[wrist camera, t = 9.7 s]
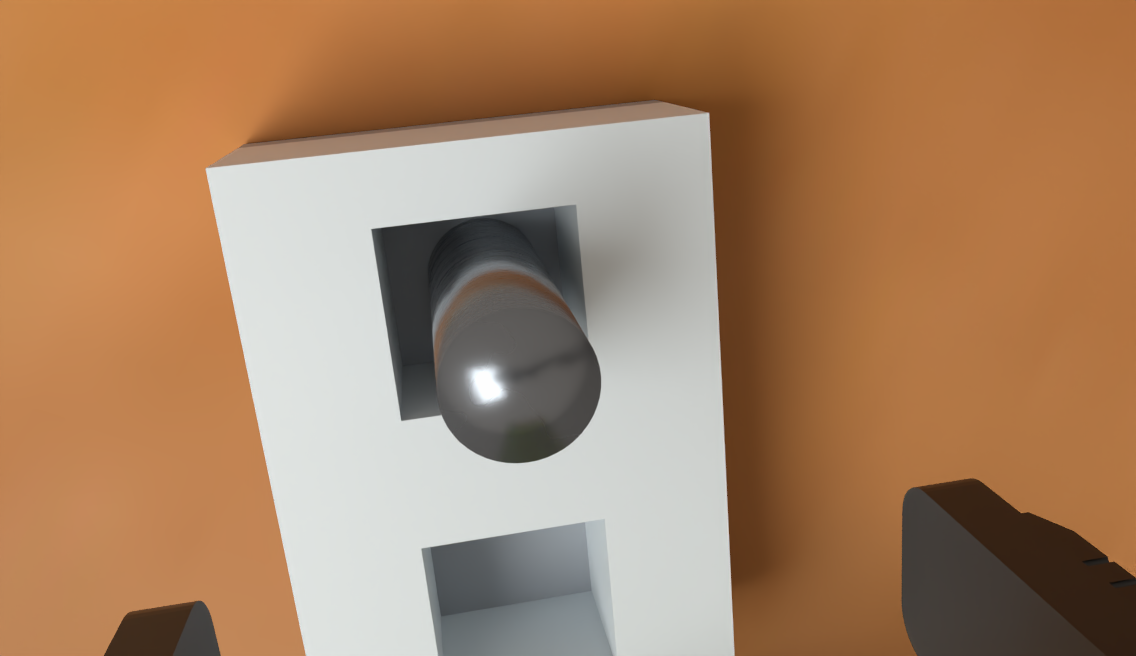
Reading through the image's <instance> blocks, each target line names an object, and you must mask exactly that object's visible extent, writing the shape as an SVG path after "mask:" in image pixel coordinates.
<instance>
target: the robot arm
mask: <svg viewBox="0 0 1136 656" xmlns="http://www.w3.org/2000/svg"><path fill="white" fill-rule="evenodd" d="M902 612H903V618H904V623H905V627H906V630H907V633H908V636H909V639H910V642H911V644H912V646H913V648H914V650H915V652H916V654H917V655H918V656H1136V578H1135V577H1134V576H1133V575H1131V574H1130V573H1129V572H1127V571H1126V570H1125V569H1123V568H1122V567H1121V566H1119V565H1118V564H1117V563H1115V562H1110V563H1109V561H1108V557H1107V556H1106V555H1105V554H1103V553H1102V552H1101V551H1099V550H1098V549H1097V548H1095V547H1094V546H1093V545H1091V544H1090V543H1089V542H1087V541H1086V540H1085V539H1083V538H1082V537H1081V536H1079V535H1078V534H1077V533H1075V532H1074V531H1072V530H1070V529H1067V528H1065V527H1062V526H1060V525H1058V524H1055V523H1053V522H1050V521H1048V520H1046V519H1043V518H1041V517H1038V516H1036V515H1034V514H1031V513H1029V512H1027V513H1020V512H1019V511H1017V510H1016V509H1015V508H1014V507H1012V506H1011V505H1010V504H1009V503H1007V502H1006V501H1005V500H1003V499H1002V498H1001V497H1000V496H998V495H997V494H996V493H995V492H993V491H992V490H991V489H990V488H988V487H987V486H986V485H984V484H983V483H982V482H980V481H979V480H976V479H964V480H958V481H952V482H946V483H939V484H933V485H927V486H921V487H915V488H911V489H910V490H908V491H907V493H906V495H905V498H904V502H903V511H902ZM104 656H221V655H220V651H219V647H218V643H217V639H216V635H215V630H214V626H213V622H212V619H211V615H210V613H209V610H208V608H207V606H206V605H205V604H204V603H203V602H202V601H195V602H188V603H182V604H176V605H170V606H163V607H157V608H151V609H145V610H139V611H132V612H129V613H128V614H127V615H126V616H125V617H124V619H123V620H122V622H121V624H120V626H119V628H118V630H117V632H116V634H115V635H114V637H113V639H112V641H111V643H110V645H109V647H108V649H107V651H106V653H105V655H104Z"/></svg>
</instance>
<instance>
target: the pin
mask: <svg viewBox="0 0 1136 656" xmlns="http://www.w3.org/2000/svg"><path fill="white" fill-rule="evenodd" d="M428 280H429V294H430V308H431V321H432V335H433V349H434V363H435V377H436V390H437V400H438V405H439V409H440V412H441V415H442V418H443V420H444V422H445V424H446V425H447V427H448V429H449V430H450V431H451V433H452V434H453V435H454V436H455V438H456V439H457V440H458V441H459V442H460V443H461V444H463V445H464V446H465V447H466V448H468V449H469V450H471V451H473V452H474V453H476V454H478V455H480V456H482V457H484V458H487V459H490V460H494V461H498V462H504V463H528V462H533V461H538V460H541V459H544V458H547V457H549V456H552V455H554V454H556V453H558V452H559V451H561V450H563V449H564V448H566V447H567V446H569V445H570V444H571V443H572V442H574V441H575V440H576V439H577V438H578V437H579V436H580V435H581V434H582V432H583V431H584V430H585V428H586V427H587V426H588V424H589V423H590V421H591V419H592V417H593V416H594V413H595V411H596V408H597V406H598V402H599V398H600V392H601V372H600V366H599V363H598V359H597V356H596V354H595V352H594V349H593V347H592V346H591V344H590V342H589V341H588V339H587V337H586V336H585V334H584V332H583V331H582V329H581V327H580V325H579V324H578V322H577V320H576V319H575V317H574V315H573V314H572V312H571V310H570V309H569V307H568V305H567V303H566V302H565V300H564V298H563V297H562V295H561V293H560V292H559V290H558V288H557V287H556V285H555V283H554V281H553V280H552V278H551V276H550V275H549V273H548V271H547V270H546V268H545V266H544V265H543V263H542V261H541V260H540V258H539V256H538V254H537V253H536V251H535V249H534V248H533V246H532V244H531V243H530V241H529V240H528V239H527V237H526V236H525V235H524V234H523V233H522V232H521V231H520V230H518V229H517V228H515V227H514V226H512V225H510V224H508V223H506V222H503V221H501V220H496V219H490V218H478V219H472V220H468V221H465V222H462V223H460V224H458V225H456V226H455V227H453V228H451V229H450V230H449V231H448V232H446V233H445V234H444V235H443V236H442V237H441V239H440V240H439V241H438V243H437V244H436V246H435V248H434V250H433V252H432V254H431V257H430V261H429V266H428Z"/></svg>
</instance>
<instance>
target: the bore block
mask: <svg viewBox="0 0 1136 656" xmlns="http://www.w3.org/2000/svg"><path fill="white" fill-rule="evenodd" d="M206 173H207V178H208V183H209V187H210V192H211V197H212V202H213V207H214V212H215V217H216V221H217V226H218V231H219V236H220V241H221V246H222V251H223V255H224V260H225V265H226V270H227V275H228V280H229V284H230V289H231V294H232V299H233V304H234V309H235V314H236V318H237V323H238V328H239V333H240V338H241V343H242V348H243V352H244V357H245V362H246V367H247V372H248V377H249V381H250V386H251V391H252V396H253V401H254V406H255V411H256V415H257V420H258V425H259V430H260V435H261V440H262V445H263V449H264V454H265V459H266V464H267V469H268V474H269V478H270V483H271V488H272V493H273V498H274V503H275V508H276V512H277V517H278V522H279V527H280V532H281V537H282V542H283V546H284V551H285V556H286V561H287V566H288V571H289V575H290V580H291V585H292V590H293V595H294V600H295V605H296V609H297V614H298V619H299V624H300V629H301V634H302V639H303V643H304V648H305V653H306V656H735V655H734V633H733V612H732V590H731V569H730V548H729V526H728V505H727V483H726V462H725V441H724V419H723V398H722V376H721V355H720V334H719V312H718V291H717V269H716V248H715V227H714V205H713V184H712V162H711V141H710V120H709V113H708V112H704V111H699V110H695V109H691V108H687V107H683V106H679V105H675V104H670V103H666V102H662V101H658V100H649V101H640V102H631V103H621V104H612V105H603V106H593V107H584V108H575V109H566V110H556V111H547V112H538V113H528V114H519V115H510V116H501V117H491V118H482V119H473V120H464V121H454V122H445V123H436V124H426V125H417V126H408V127H399V128H389V129H380V130H371V131H361V132H352V133H343V134H334V135H324V136H315V137H306V138H297V139H287V140H278V141H269V142H259V143H250V144H244V145H242V146H241V147H239V148H237V149H236V150H234V151H233V152H231V153H229V154H228V155H226V156H225V157H223V158H221V159H220V160H218V161H217V162H215V163H213V164H212V165H210V166H209V167H207V168H206ZM478 218H490V219H496V220H501V221H503V222H506V223H508V224H510V225H512V226H514V227H515V228H517V229H518V230H520V231H521V232H522V233H523V234H524V235H525V236H526V237H527V239H528V240H529V241H530V243H531V244H532V246H533V248H534V249H535V251H536V253H537V254H538V256H539V258H540V260H541V261H542V263H543V265H544V266H545V268H546V270H547V271H548V273H549V275H550V276H551V278H552V280H553V281H554V283H555V285H556V287H557V288H558V290H559V292H560V293H561V295H562V297H563V298H564V300H565V302H566V303H567V305H568V307H569V309H570V310H571V312H572V314H573V315H574V317H575V319H576V320H577V322H578V324H579V325H580V327H581V329H582V331H583V332H584V334H585V336H586V337H587V339H588V341H589V342H590V344H591V346H592V347H593V349H594V352H595V354H596V356H597V359H598V363H599V366H600V372H601V392H600V398H599V402H598V406H597V408H596V411H595V413H594V416H593V417H592V419H591V421H590V423H589V424H588V426H587V427H586V428H585V430H584V431H583V432H582V434H581V435H580V436H579V437H578V438H577V439H576V440H575V441H574V442H572V443H571V444H570V445H569V446H567V447H566V448H564V449H563V450H561V451H559V452H558V453H556V454H554V455H552V456H549V457H547V458H544V459H541V460H538V461H533V462H528V463H504V462H498V461H494V460H490V459H487V458H484V457H482V456H480V455H478V454H476V453H474V452H473V451H471V450H469V449H468V448H466V447H465V446H464V445H463V444H461V443H460V442H459V441H458V440H457V439H456V438H455V436H454V435H453V434H452V433H451V431H450V430H449V429H448V427H447V425H446V424H445V422H444V420H443V418H442V415H441V412H440V409H439V405H438V400H437V390H436V377H435V363H434V349H433V335H432V321H431V308H430V294H429V280H428V266H429V261H430V257H431V254H432V252H433V250H434V248H435V246H436V244H437V243H438V241H439V240H440V239H441V237H442V236H443V235H444V234H445V233H446V232H448V231H449V230H450V229H451V228H453V227H455V226H456V225H458V224H460V223H462V222H465V221H468V220H472V219H478Z"/></svg>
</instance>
